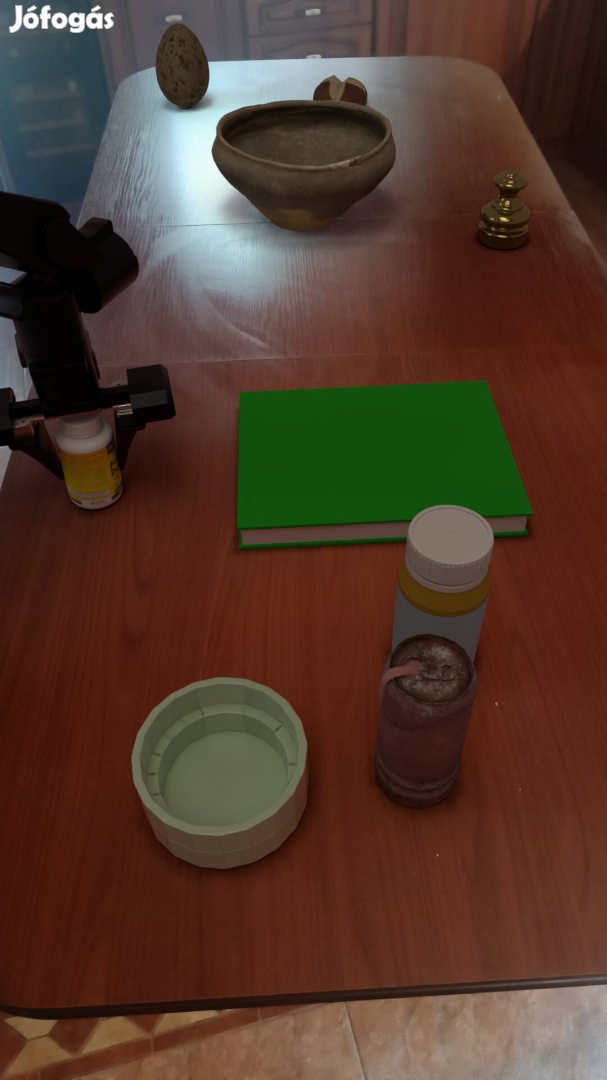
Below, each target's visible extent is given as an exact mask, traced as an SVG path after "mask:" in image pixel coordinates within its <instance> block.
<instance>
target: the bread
mask: <svg viewBox="0 0 607 1080" xmlns="http://www.w3.org/2000/svg"><path fill="white" fill-rule="evenodd" d="M312 100H313V101H316V100H318V101H326V100H337V101H345V102H351V103H355V104H358V105H362V106H365V107H366V104H367V103H368V90H367V88H366V86H365V85H364V84H363V83H362V82H361V80H359V79H356V78H354V77H350V76H349V77H346V78H345V79H344V80H343V81H342V80H340V78H339V77H337V76H336V75H335V74H333V75H331V76H329V77H328V76H327V77H326V78H324V79H323V80H322V81H321V82H320V83H319V84H317V86H316V87H315V88H314V91H313V96H312Z"/></svg>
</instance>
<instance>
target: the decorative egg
mask: <svg viewBox="0 0 607 1080" xmlns="http://www.w3.org/2000/svg"><path fill="white" fill-rule="evenodd" d="M154 66H155V76H156V82H157V85H158V88H159V90H160V92H161V93H162V95H163V96H164V97H165V99H166V100H167V101H168V102H169V103H171V104H172V105H174V106H176V107H179V108H181V109H188V108H193V107H195V106H197V105H198V104H199V103H201V101H202V100H203V98H204V97H205V95H206V94H207V91H208V88H209V86H210V85H209V84H210V77H211V76H210V75H211V73H210V65H209V61H208V57H207V54H206V52H205V49H204V47H203V45H202V43H201V42H200V40H199V38H198V37H197V36H196V34H195V33H194V32H193V30H192V29H190V27H188V26H186V25H185V24H183V23H179V22H176V23H172V24H171V25H169V26H168V27H167V28H166V29H165V30H164V33H163V34H162V36H161V38H160V40H159V42H158V46H157V50H156V55H155V65H154Z"/></svg>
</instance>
